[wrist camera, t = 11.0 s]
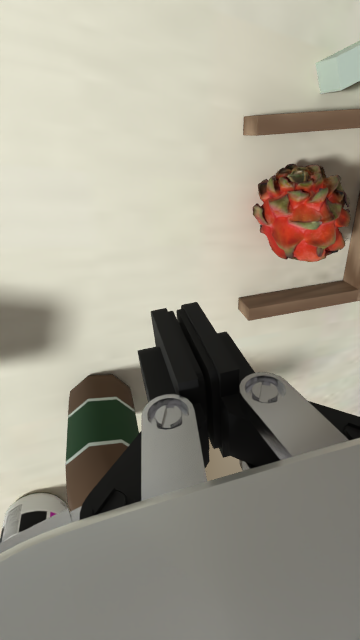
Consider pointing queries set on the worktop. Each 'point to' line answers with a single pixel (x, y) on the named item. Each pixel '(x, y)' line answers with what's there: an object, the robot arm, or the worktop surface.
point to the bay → (356, 276)
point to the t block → (339, 69)
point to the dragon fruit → (303, 213)
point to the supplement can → (30, 513)
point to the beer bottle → (96, 432)
